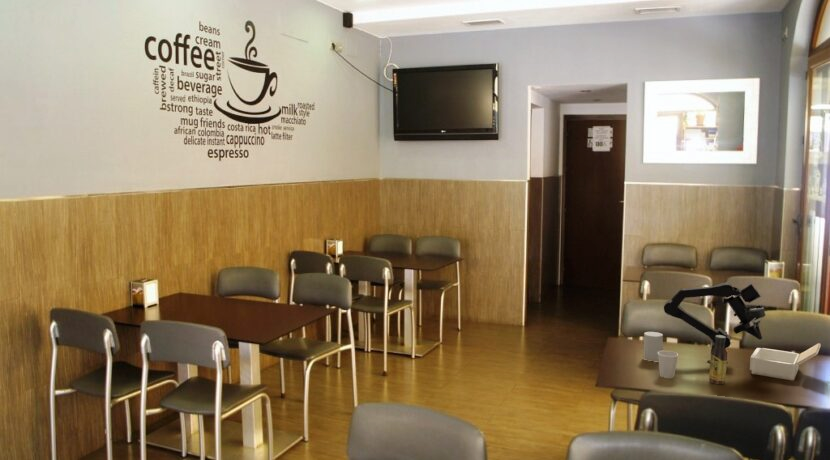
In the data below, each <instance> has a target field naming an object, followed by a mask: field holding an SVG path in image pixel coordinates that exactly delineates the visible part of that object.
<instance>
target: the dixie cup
mask: <svg viewBox="0 0 830 460" xmlns="http://www.w3.org/2000/svg"><path fill="white" fill-rule="evenodd" d="M678 357H679V353H677V352H676V351H672V350H662V351H659V352H658V359H659V362H658V368H659V369H658V371H659V377H661V378H663V377H664V378H665V379H673V378H675V374H676V367H677V362H678Z"/></svg>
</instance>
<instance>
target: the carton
mask: <svg viewBox="0 0 830 460" xmlns="http://www.w3.org/2000/svg"><path fill="white" fill-rule="evenodd" d="M800 354H801V353H797V352H792V351H786V350H779V349H771V348H765V347H762V348H761V347H756V349H755V350H754V351H753V353H752V354H751V356H750V361H749V371H751V374H752V375H759V376H763V377H770V378H776V379H781V380H782V379H783V380H787V381H788V380H789V381H795V379H796V376H797V374H798V371H799V367H800V364H799V365H797V364H796V363H797V360H798V358H799V356H800Z"/></svg>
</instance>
